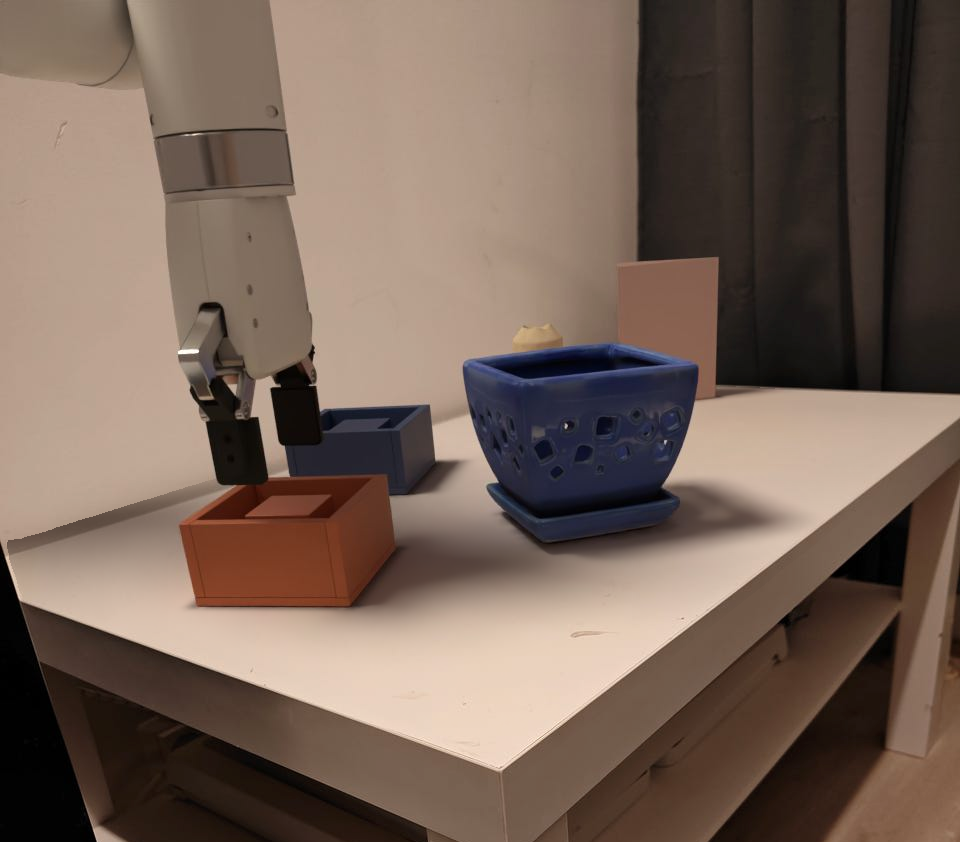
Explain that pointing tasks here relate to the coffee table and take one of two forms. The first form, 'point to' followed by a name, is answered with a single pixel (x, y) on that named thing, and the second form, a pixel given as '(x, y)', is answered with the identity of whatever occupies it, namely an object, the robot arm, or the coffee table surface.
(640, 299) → the greeting card
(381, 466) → the navy bin
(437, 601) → the coffee table surface
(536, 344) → the candle
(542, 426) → the flower pot
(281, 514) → the terracotta block
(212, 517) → the terracotta bin
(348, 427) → the navy block
